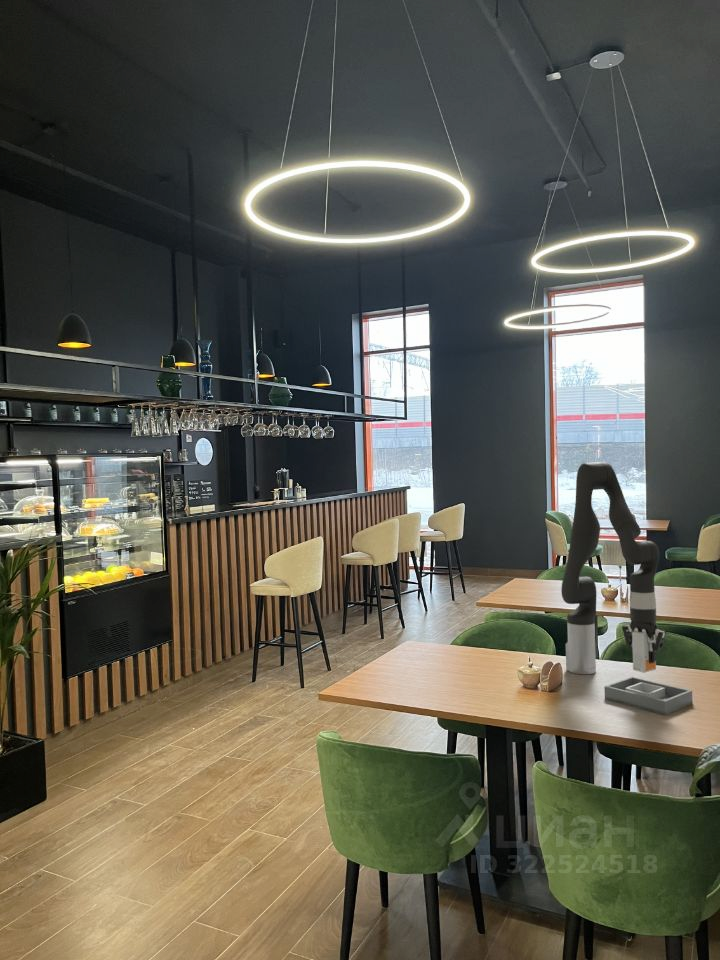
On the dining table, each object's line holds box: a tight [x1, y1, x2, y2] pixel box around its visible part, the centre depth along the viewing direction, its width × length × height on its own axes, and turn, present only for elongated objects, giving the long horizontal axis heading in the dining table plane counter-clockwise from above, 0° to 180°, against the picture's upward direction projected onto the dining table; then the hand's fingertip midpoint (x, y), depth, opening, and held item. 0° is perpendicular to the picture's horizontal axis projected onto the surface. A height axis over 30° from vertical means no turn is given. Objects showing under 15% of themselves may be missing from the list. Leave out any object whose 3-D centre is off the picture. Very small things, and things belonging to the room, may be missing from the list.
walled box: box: [603, 676, 693, 716], centre depth 219 cm, size 20×15×4 cm
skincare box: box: [631, 631, 657, 673], centre depth 221 cm, size 6×4×12 cm
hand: (644, 661), depth 221 cm, fingers closed on skincare box, 4 cm apart
